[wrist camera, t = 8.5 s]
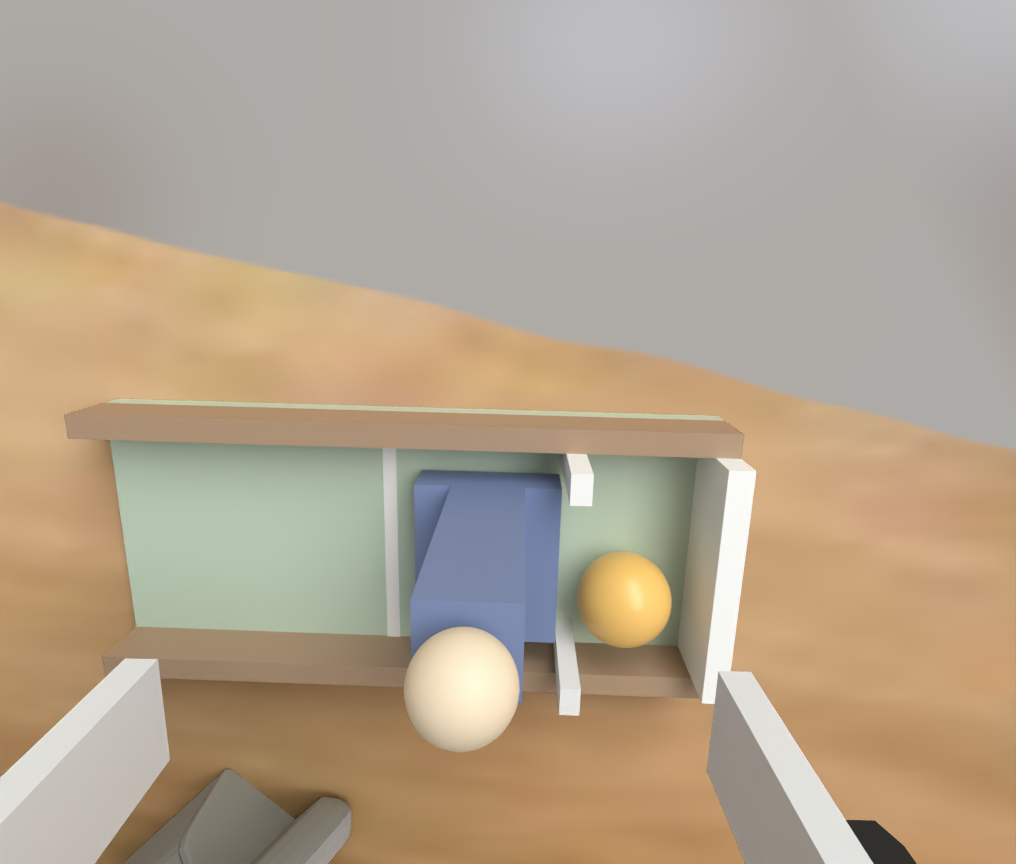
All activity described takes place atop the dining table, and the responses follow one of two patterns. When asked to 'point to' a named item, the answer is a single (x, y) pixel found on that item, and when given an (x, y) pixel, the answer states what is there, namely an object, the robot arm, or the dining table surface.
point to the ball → (624, 599)
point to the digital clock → (247, 829)
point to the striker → (478, 598)
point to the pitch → (408, 535)
